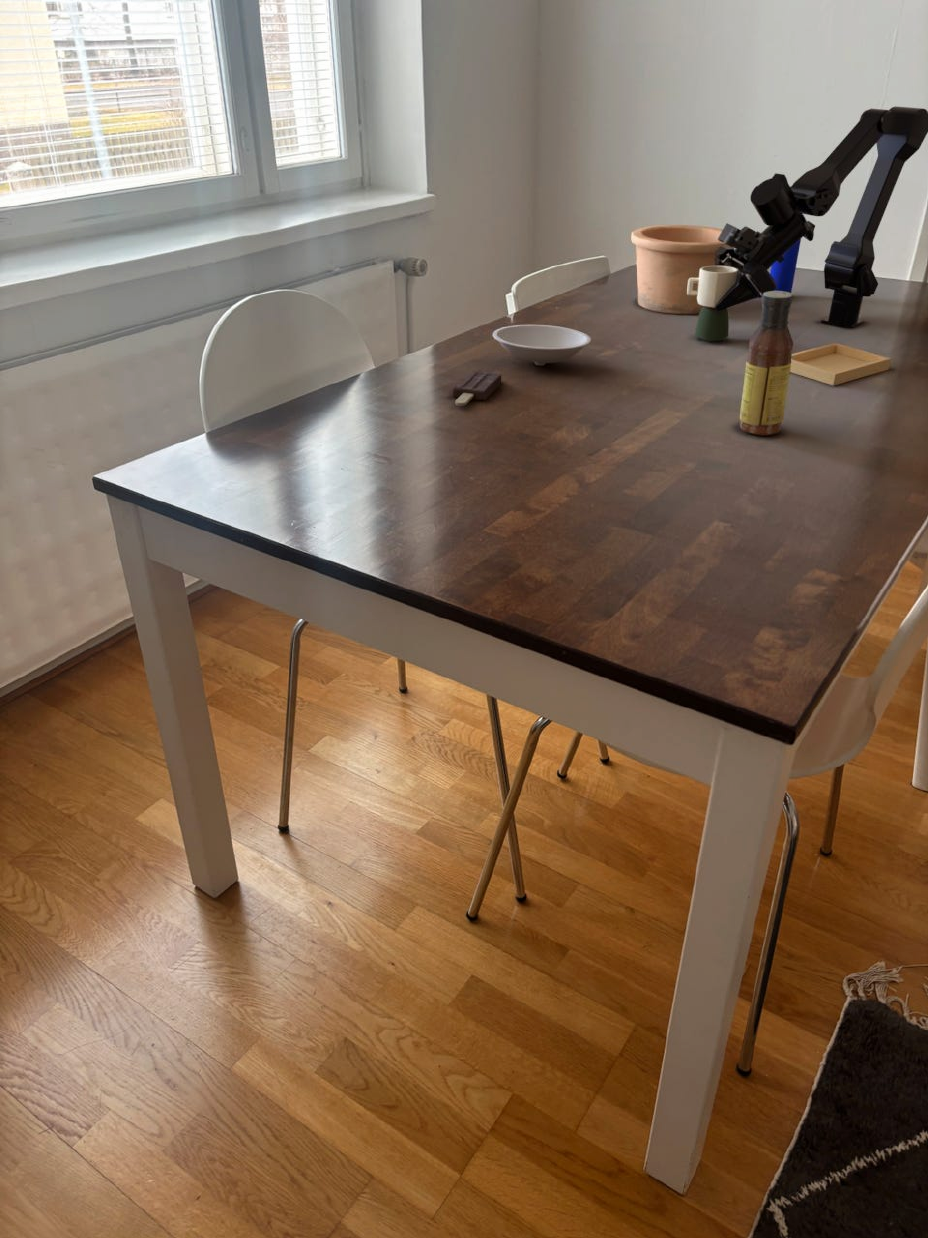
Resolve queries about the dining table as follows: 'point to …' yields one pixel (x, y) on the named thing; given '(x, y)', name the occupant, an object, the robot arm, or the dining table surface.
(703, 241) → the pottery
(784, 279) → the beverage can
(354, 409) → the dining table surface
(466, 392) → the ice cream bar
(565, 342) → the dish
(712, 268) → the character mug
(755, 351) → the sauce bottle
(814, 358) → the mug tray
